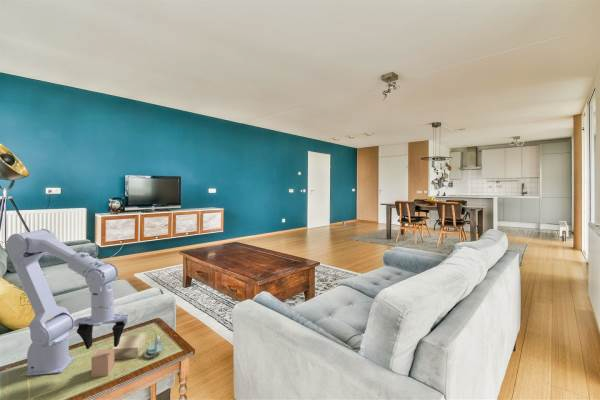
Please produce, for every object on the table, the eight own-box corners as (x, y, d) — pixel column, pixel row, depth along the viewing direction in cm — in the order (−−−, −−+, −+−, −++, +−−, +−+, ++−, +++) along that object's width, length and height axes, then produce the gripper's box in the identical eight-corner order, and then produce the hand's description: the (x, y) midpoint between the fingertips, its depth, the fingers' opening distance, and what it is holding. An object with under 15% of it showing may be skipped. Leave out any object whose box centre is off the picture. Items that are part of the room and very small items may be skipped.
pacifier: (142, 361, 95) (162, 356, 98) (142, 344, 95) (162, 339, 97) (144, 349, 102) (162, 345, 104) (143, 332, 101) (162, 329, 104)
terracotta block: (91, 377, 87) (91, 358, 86) (98, 367, 91) (98, 349, 91) (108, 375, 88) (107, 357, 87) (114, 366, 92) (114, 348, 92)
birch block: (111, 359, 95) (111, 349, 95) (121, 345, 103) (121, 336, 103) (137, 357, 97) (137, 347, 97) (145, 343, 105) (145, 334, 104)
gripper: (67, 311, 82) (69, 356, 83) (123, 308, 85) (123, 351, 86) (81, 300, 89) (82, 342, 90) (132, 298, 92) (132, 338, 93)
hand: (103, 346), depth 89 cm, fingers open, 7 cm apart
